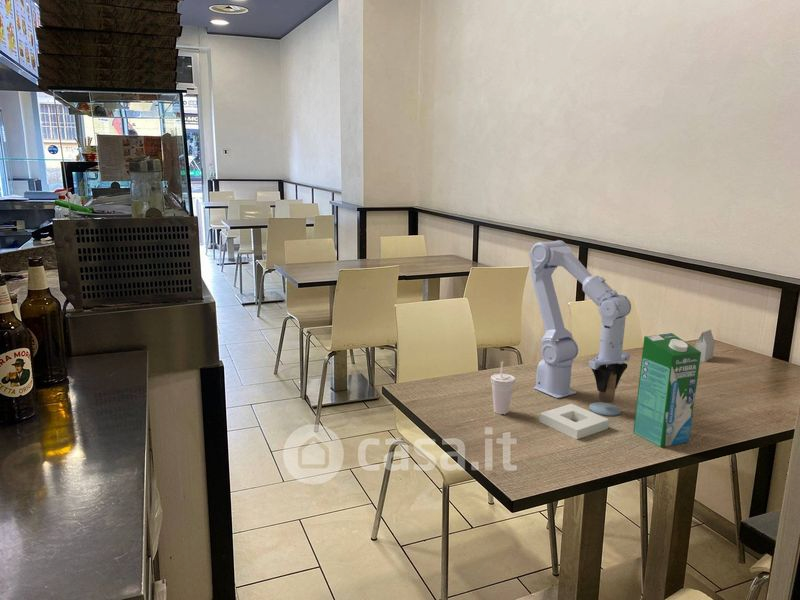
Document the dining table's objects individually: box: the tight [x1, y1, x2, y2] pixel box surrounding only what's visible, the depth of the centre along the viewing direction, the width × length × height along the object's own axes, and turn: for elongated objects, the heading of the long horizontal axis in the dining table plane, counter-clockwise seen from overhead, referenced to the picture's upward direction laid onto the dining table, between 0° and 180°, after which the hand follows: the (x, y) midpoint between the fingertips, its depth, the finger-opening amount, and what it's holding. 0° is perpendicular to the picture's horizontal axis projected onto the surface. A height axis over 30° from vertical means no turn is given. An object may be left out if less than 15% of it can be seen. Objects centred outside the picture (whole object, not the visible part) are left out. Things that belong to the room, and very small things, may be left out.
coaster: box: [588, 401, 621, 417], centre depth 163 cm, size 8×8×1 cm
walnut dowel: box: [597, 372, 617, 404], centre depth 161 cm, size 4×4×8 cm
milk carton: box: [632, 332, 701, 448], centre depth 145 cm, size 9×9×25 cm
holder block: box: [539, 403, 610, 440], centre depth 153 cm, size 12×12×2 cm
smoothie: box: [490, 361, 516, 415], centre depth 159 cm, size 6×6×14 cm
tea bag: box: [694, 329, 716, 363], centre depth 208 cm, size 4×7×10 cm, turn 131°
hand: (606, 389), depth 162 cm, fingers closed on walnut dowel, 4 cm apart
